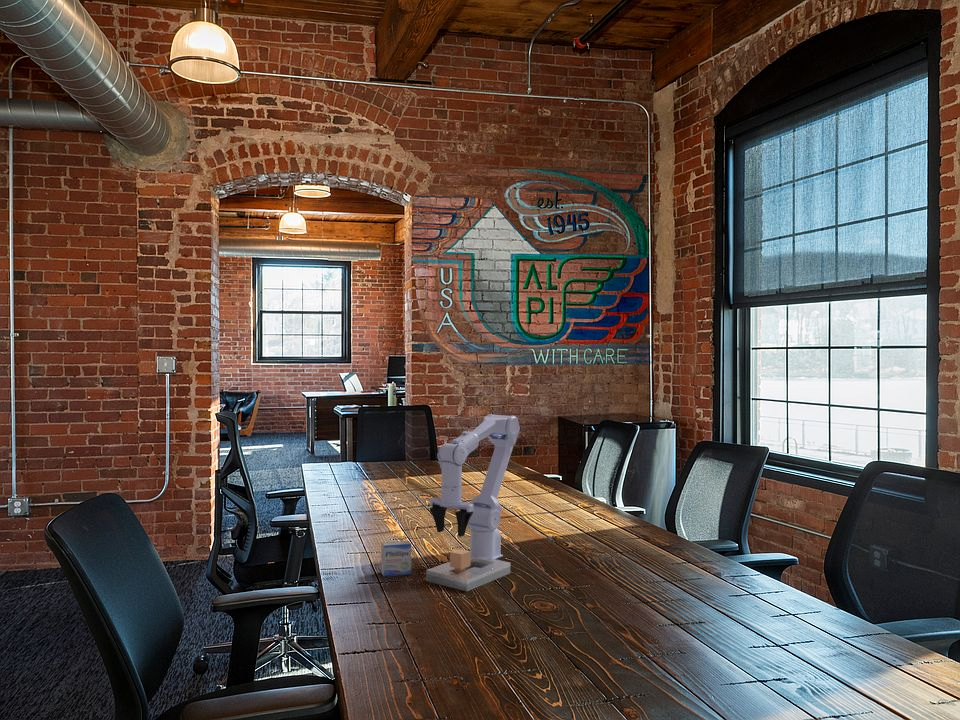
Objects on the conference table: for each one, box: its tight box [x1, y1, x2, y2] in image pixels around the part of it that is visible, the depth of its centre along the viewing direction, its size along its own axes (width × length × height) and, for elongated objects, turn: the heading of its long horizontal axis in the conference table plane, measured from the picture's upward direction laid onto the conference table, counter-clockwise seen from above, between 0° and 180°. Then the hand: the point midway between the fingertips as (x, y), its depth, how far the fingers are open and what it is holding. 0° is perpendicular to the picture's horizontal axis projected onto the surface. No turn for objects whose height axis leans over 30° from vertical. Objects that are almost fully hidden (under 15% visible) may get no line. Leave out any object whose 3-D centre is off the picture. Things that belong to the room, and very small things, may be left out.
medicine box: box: [380, 540, 412, 577], centre depth 210 cm, size 8×4×9 cm, turn 105°
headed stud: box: [449, 548, 471, 573], centre depth 204 cm, size 5×5×8 cm
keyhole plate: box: [425, 554, 511, 592], centre depth 207 cm, size 20×14×3 cm
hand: (450, 533), depth 213 cm, fingers open, 7 cm apart
